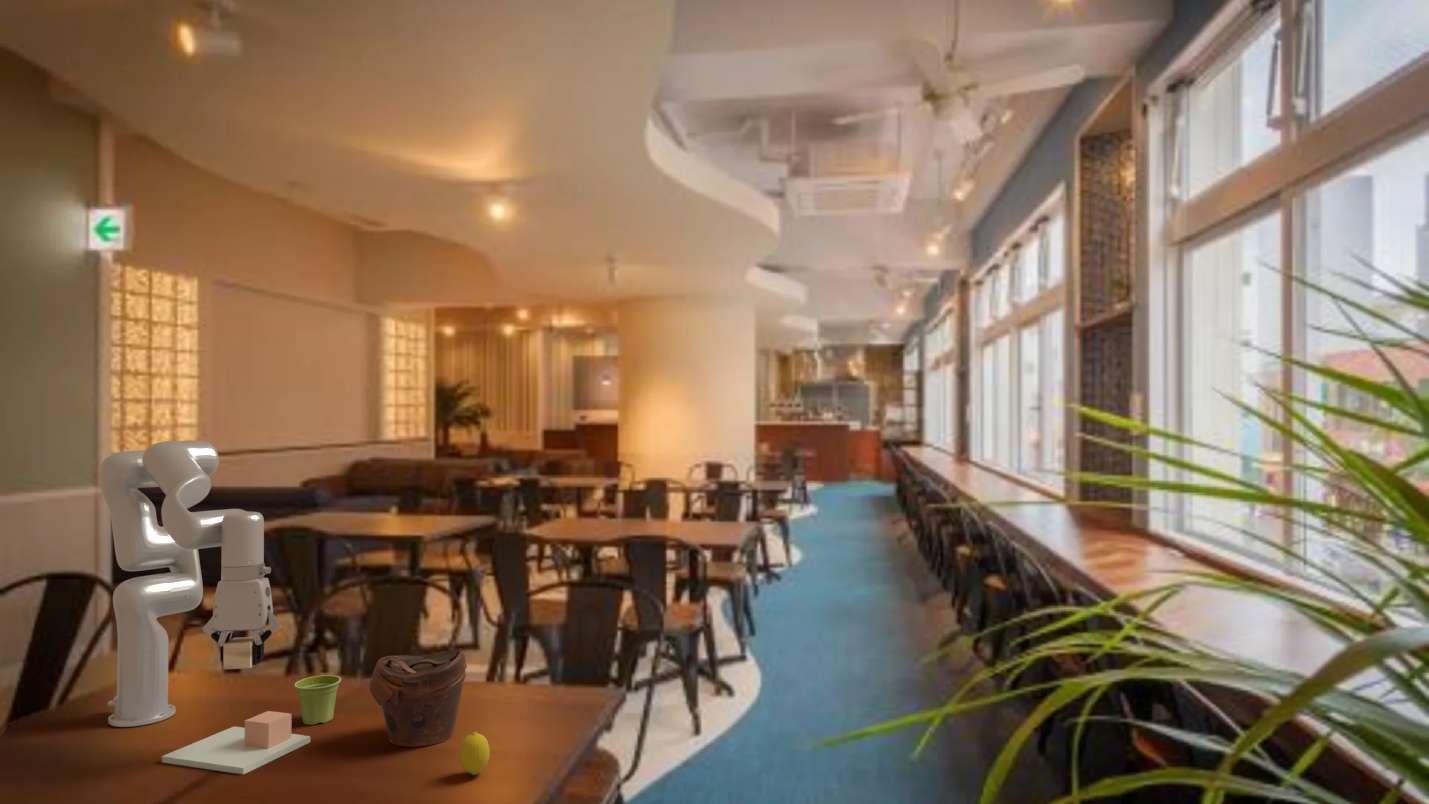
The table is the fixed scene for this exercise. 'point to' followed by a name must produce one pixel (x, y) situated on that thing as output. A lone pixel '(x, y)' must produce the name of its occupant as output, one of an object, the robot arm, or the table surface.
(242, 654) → the maple cube
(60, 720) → the table surface
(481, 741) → the lemon
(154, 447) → the robot arm
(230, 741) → the building board
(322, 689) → the plant pot
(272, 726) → the base block
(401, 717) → the case
